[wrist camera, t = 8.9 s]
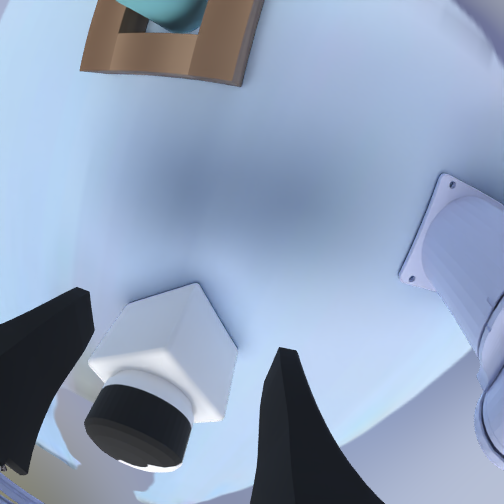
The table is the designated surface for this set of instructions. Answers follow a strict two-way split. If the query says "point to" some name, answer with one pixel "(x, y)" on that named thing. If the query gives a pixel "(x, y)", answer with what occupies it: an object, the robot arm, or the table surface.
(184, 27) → the peg
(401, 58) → the table surface
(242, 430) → the table surface
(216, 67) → the socket block
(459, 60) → the table surface
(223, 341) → the medicine bottle
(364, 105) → the table surface
